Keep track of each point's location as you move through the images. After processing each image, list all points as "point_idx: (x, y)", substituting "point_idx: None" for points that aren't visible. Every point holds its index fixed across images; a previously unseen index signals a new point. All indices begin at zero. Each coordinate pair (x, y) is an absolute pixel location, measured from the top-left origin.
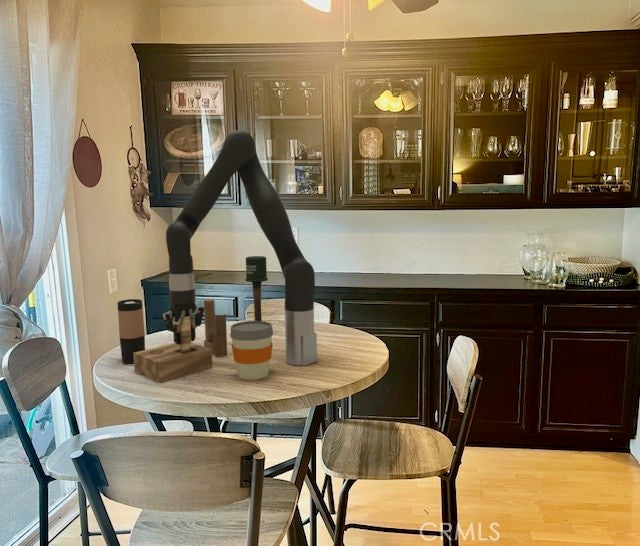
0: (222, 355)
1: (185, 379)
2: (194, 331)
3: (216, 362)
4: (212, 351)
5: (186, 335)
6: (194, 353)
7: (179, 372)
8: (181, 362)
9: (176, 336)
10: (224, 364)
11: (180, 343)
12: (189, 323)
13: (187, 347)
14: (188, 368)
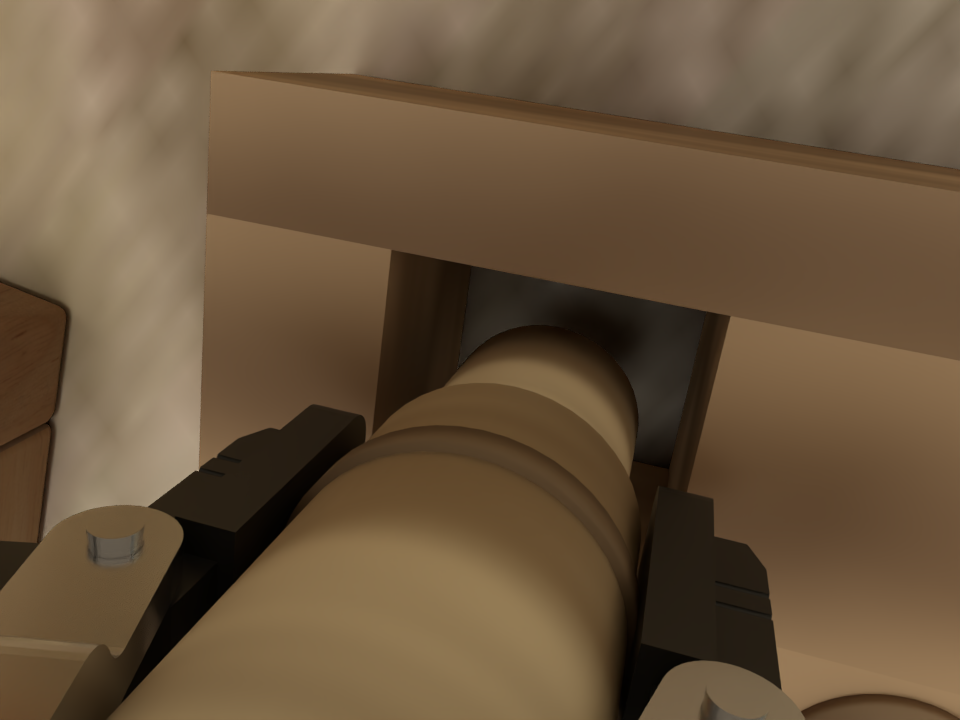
0: (11, 289)
1: (937, 4)
2: (182, 506)
3: (194, 185)
4: (27, 453)
5: (521, 477)
6: (591, 133)
7: (912, 167)
8: (897, 174)
9: (765, 646)
10: (181, 24)
11: (674, 492)
12: (232, 659)
13: (549, 377)
14: (741, 141)
